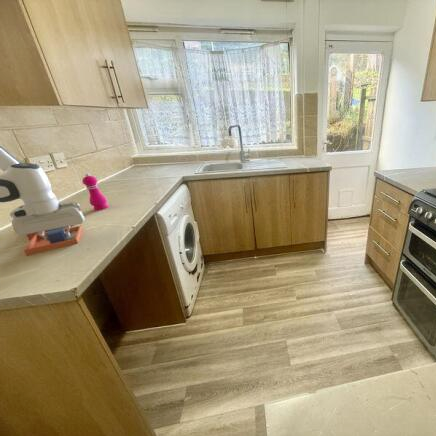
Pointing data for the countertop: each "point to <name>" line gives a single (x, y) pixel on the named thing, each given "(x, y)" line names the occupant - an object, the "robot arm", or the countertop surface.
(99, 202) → the pepper mill
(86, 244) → the countertop surface
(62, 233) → the blue block
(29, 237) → the terracotta block
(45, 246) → the orange tray
